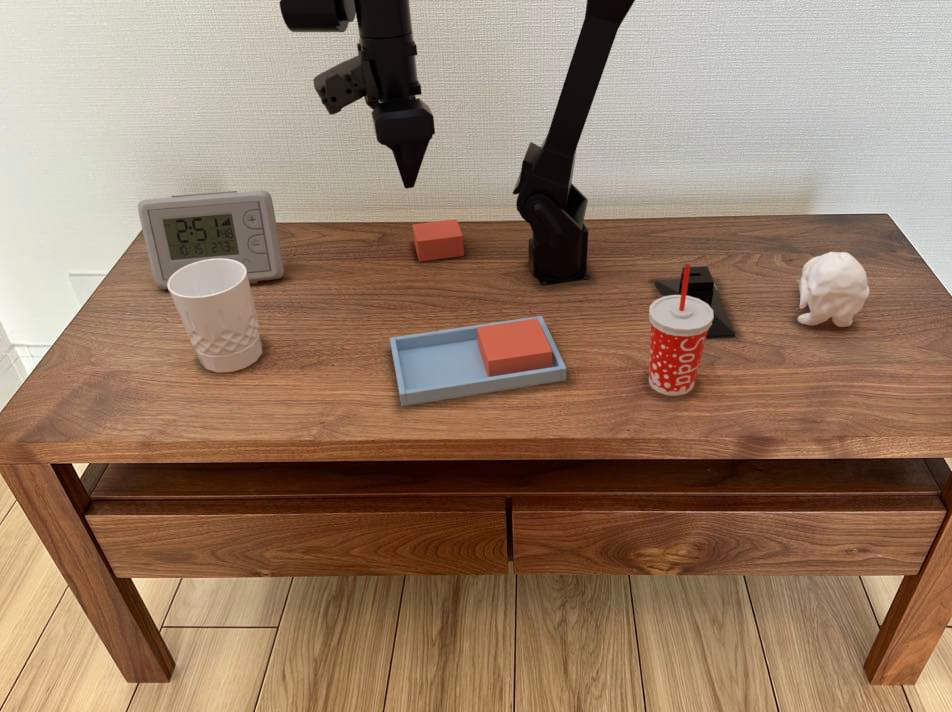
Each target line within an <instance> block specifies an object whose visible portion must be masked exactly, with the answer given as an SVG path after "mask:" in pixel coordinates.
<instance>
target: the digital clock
mask: <svg viewBox="0 0 952 712" xmlns="http://www.w3.org/2000/svg"><path fill="white" fill-rule="evenodd" d="M137 211H138V216H139V220H140V225H141V230H142V235H143V238H144V242H145V247H146V251H147V256H148V260H149V264H150V269H151V273H152V278H153V281H154V284H155V286H156V287H157V288H159V289H161V290H169V289H168V287H167V283H168V280H169V278H170V277H171V276H172V275H173V274H174V273H175V272H176V271H177V270H179V269H181V268H182V267H184V266H187V265H189V264H191V263H194V262H198V261H202V260H207V259H216V258H224V259H232V260H235V261H238V262H240V263H242V264H243V265H244V266H245V267H246V270H247V274H248V278H249V283H250V285H253V284H258V282H260V281H271V280H278V279H281V278H282V277H284V274H285V268H284V267H285V266H284V261H283V255H282V249H281V243H280V237H279V232H278V226H277V219H276V214H275V208H274V203H273V198H272V195H271V193H270V192H269V191H267V190H249V191H237V190H230V191H218V192H217V191H216V192H204V193H192V194H191V193H190V194H178V195H171V197H159V198H148V199H143V200H140V201H139V202H138V204H137Z"/></svg>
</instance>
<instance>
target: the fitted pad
mask: <svg viewBox="0 0 952 712" xmlns="http://www.w3.org/2000/svg"><path fill="white" fill-rule="evenodd" d="M477 340H478V348H479V351H480V354H481V357H482V360H483V363H484V366H485V369H486V372H487V375H488V377H493V376H499V375H505V374H512V373H518V372H525V371H531V370H538V369H544V368H550V367H552V349H551V347H550V345H549V343H548V341H547V338H546V336H545V334H544V332H543V330H542V328H541V325H540V323H539V321H538V319H530V320H523V321H516V322H509V323H503V324H496V325H489V326H482V327H477Z"/></svg>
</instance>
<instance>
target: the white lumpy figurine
mask: <svg viewBox="0 0 952 712" xmlns="http://www.w3.org/2000/svg"><path fill="white" fill-rule="evenodd" d="M796 282H797V283H798V284H797V287H798V290H799V291H798V292H799V299H800V300H799V301H800V302H799V309H805V308H806V307H807V306H808V308H809V312H806V313H802V314H801V315H799V316H798V317H797V322H798V323H799V324H801V325H806V326H816V325H820V324H822V323H824V322H827V321H828V320H829V319H831V321H832V323H833V324H834V325H835V326H837V327H838V328H846V327H850V326H852V325H853V318H854V316H855V315H856V314H858V313H859V312H860V311H861V310H862V308H863V307H864V305H865V303H866V300H867V299H868V298H869V296H870V287H869V285H868V276H867V273H866V270H865V269H864V267H863V265H862V264H861V263H860V261H858V260H857V259H856V258H855V257H854V256H853V255H852V254H850V253H849V252H846V251H841V252H838V251H829V252H827V253H823V254H821V255H817V256H813V257H812V258H810V259H809V260H808V261H806V263H805V264H804V265H803V267H802V270H801V278H798V279H796Z"/></svg>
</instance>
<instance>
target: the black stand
mask: <svg viewBox="0 0 952 712" xmlns="http://www.w3.org/2000/svg"><path fill="white" fill-rule="evenodd" d="M684 271H685V266H683V267H682V269H681V273H680V277H679V278H672V279H671V278H670V279H669V278H668V279H655V281H654V284H655V287H656V290H657V291H658V293H659V294H660V295H661V296H662V297H664V296H670V295H681V292H682V285H683V278H684ZM686 296H691V297H694V298H698V299H700V300H702V301H704V302H705V303H707V304H708V305H709V306H710V307H711V308H712V310H713V316H714V318H713V321H712V325H711V326H710V328H709V329H708V332H707V336H706V339H727V338H729V339H730V338H736V335H737V333H736V331H735V329H734V327H733V324H732V322H731V320H730V317H729V315H728V313H727V311H726V308H725V306H724V304H723V301H722V299H721V296H720V295H719V292H718V288H717V285H716V283H715V281H714V279H713V276H712V274H711V272H710V269H709V267H708V266H706V265H705V266H704V265H703V266H690V272H689V279H688V286H687V293H686Z"/></svg>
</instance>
